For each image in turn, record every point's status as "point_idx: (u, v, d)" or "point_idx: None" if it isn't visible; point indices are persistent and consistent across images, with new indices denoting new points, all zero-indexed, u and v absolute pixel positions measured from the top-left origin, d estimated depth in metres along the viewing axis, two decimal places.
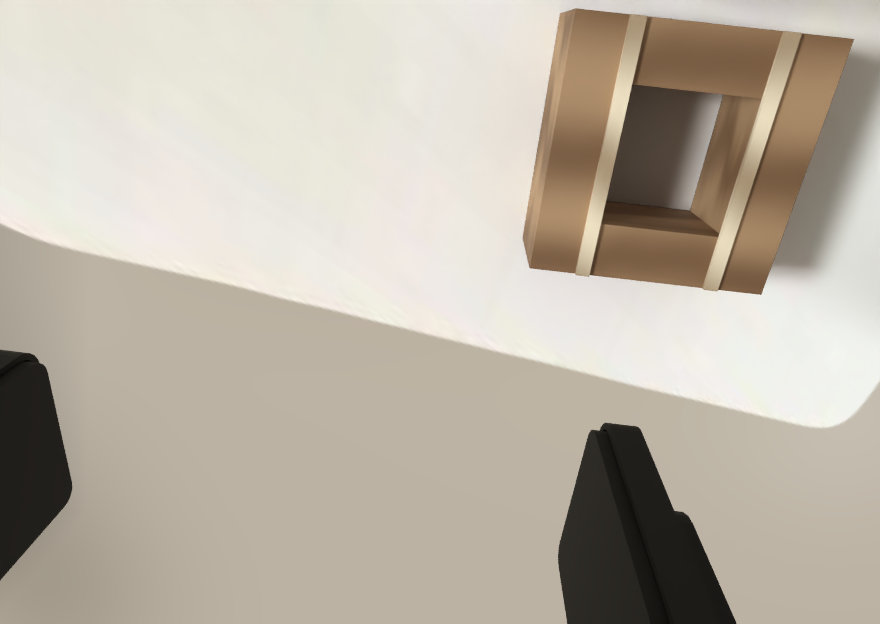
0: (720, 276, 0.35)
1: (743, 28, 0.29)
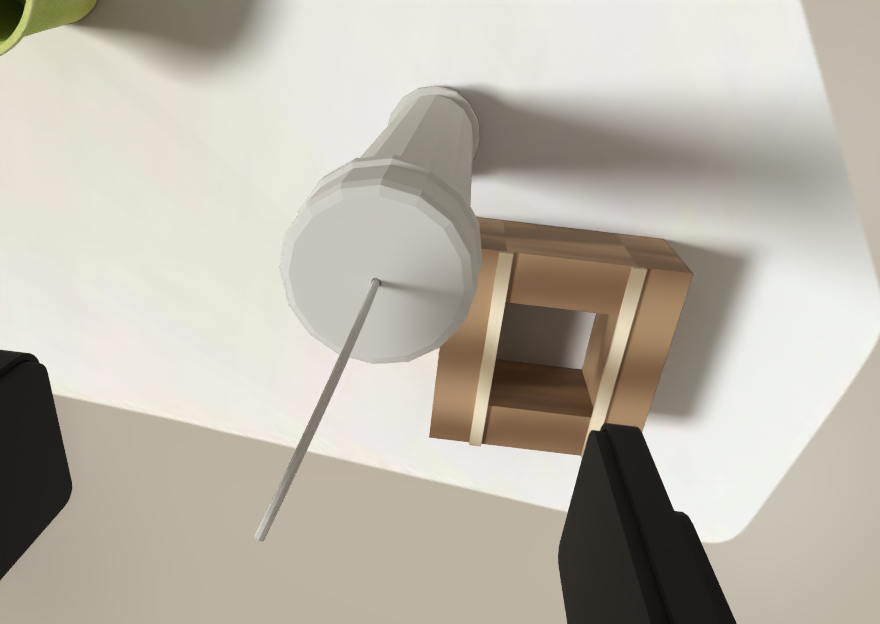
0: None
1: (597, 263, 0.34)
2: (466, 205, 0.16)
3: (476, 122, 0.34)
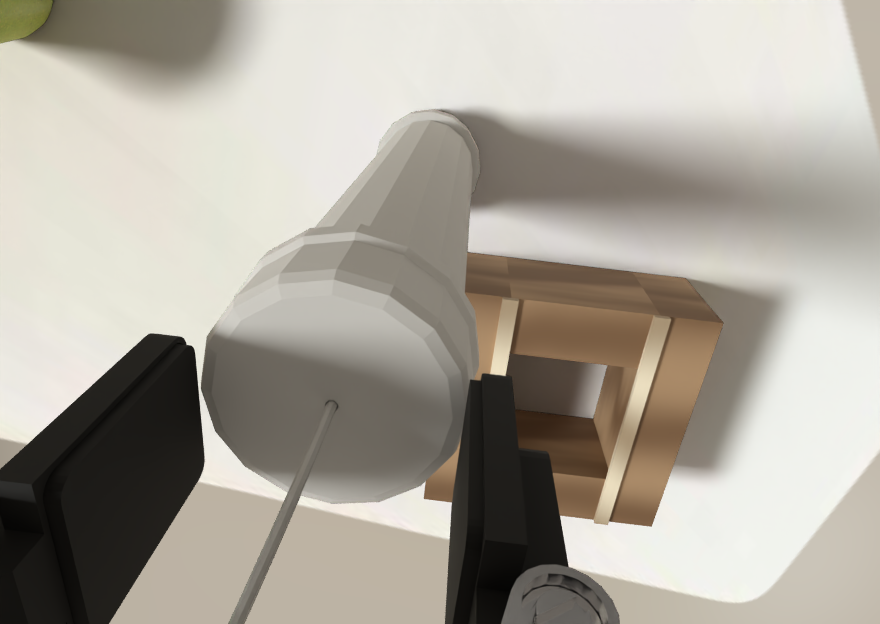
0: (609, 513, 0.35)
1: (614, 311, 0.30)
2: (457, 292, 0.12)
3: (476, 151, 0.30)
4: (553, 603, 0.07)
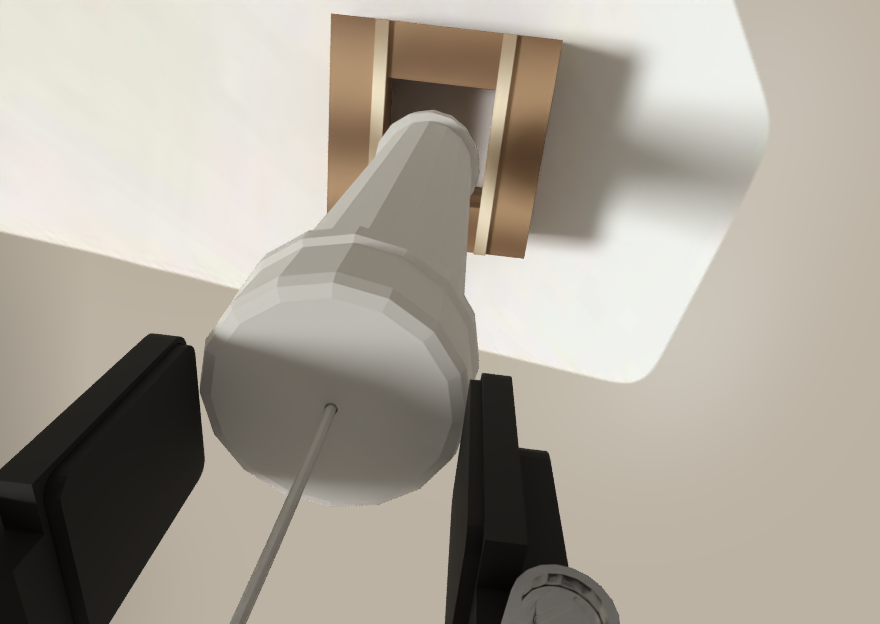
0: (485, 242, 0.40)
1: (470, 30, 0.35)
2: (457, 294, 0.12)
3: (475, 152, 0.30)
4: (553, 603, 0.07)
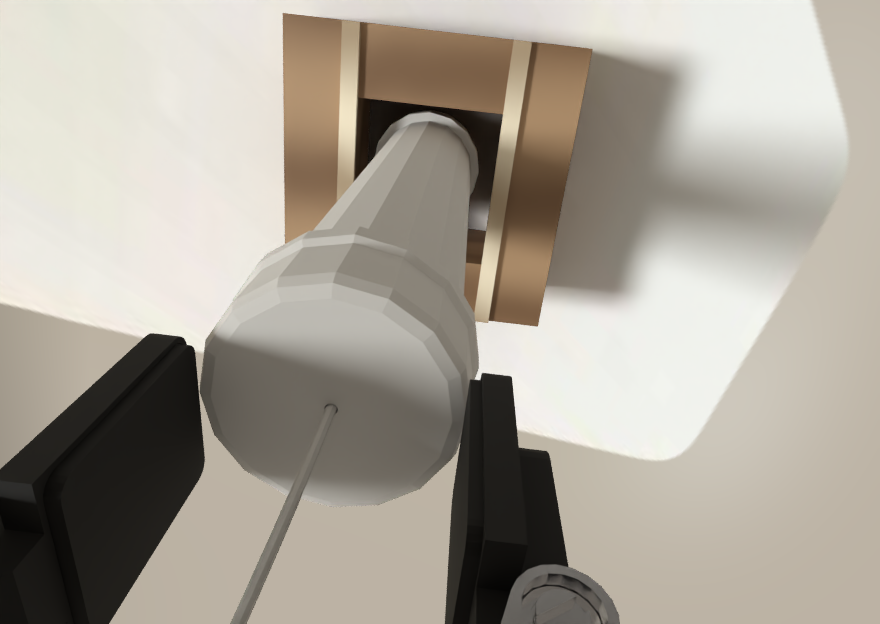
0: (488, 307, 0.32)
1: (469, 36, 0.26)
2: (457, 294, 0.12)
3: (475, 152, 0.30)
4: (553, 603, 0.07)
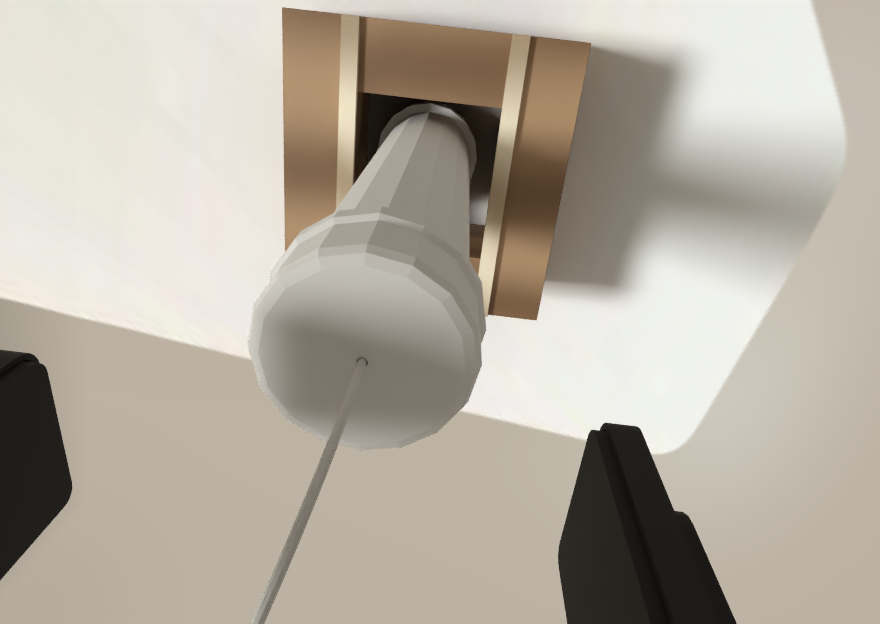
0: (487, 300, 0.32)
1: (468, 30, 0.26)
2: (467, 265, 0.14)
3: (473, 141, 0.32)
4: None
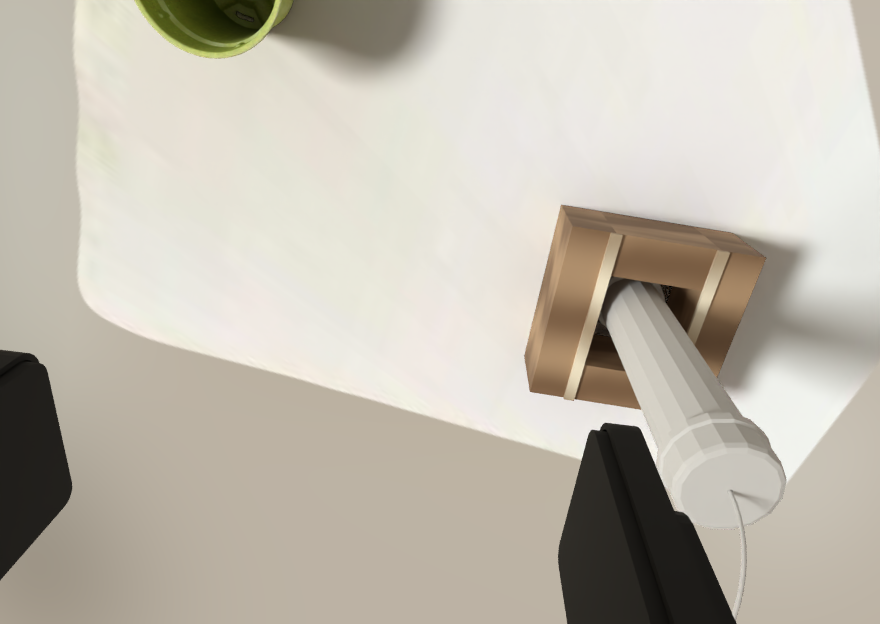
0: None
1: (689, 246, 0.42)
2: (769, 443, 0.29)
3: (663, 297, 0.47)
4: None
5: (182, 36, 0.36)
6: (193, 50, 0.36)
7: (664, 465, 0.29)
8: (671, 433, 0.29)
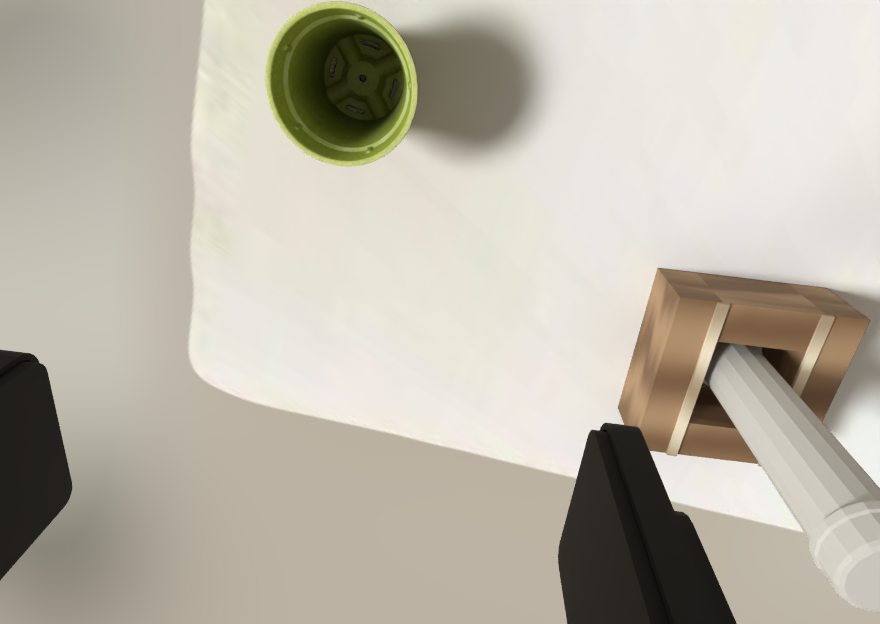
0: None
1: (795, 312, 0.43)
2: None
3: (761, 352, 0.48)
4: None
5: (316, 146, 0.38)
6: (329, 160, 0.38)
7: (821, 551, 0.31)
8: (827, 521, 0.31)
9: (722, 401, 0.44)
